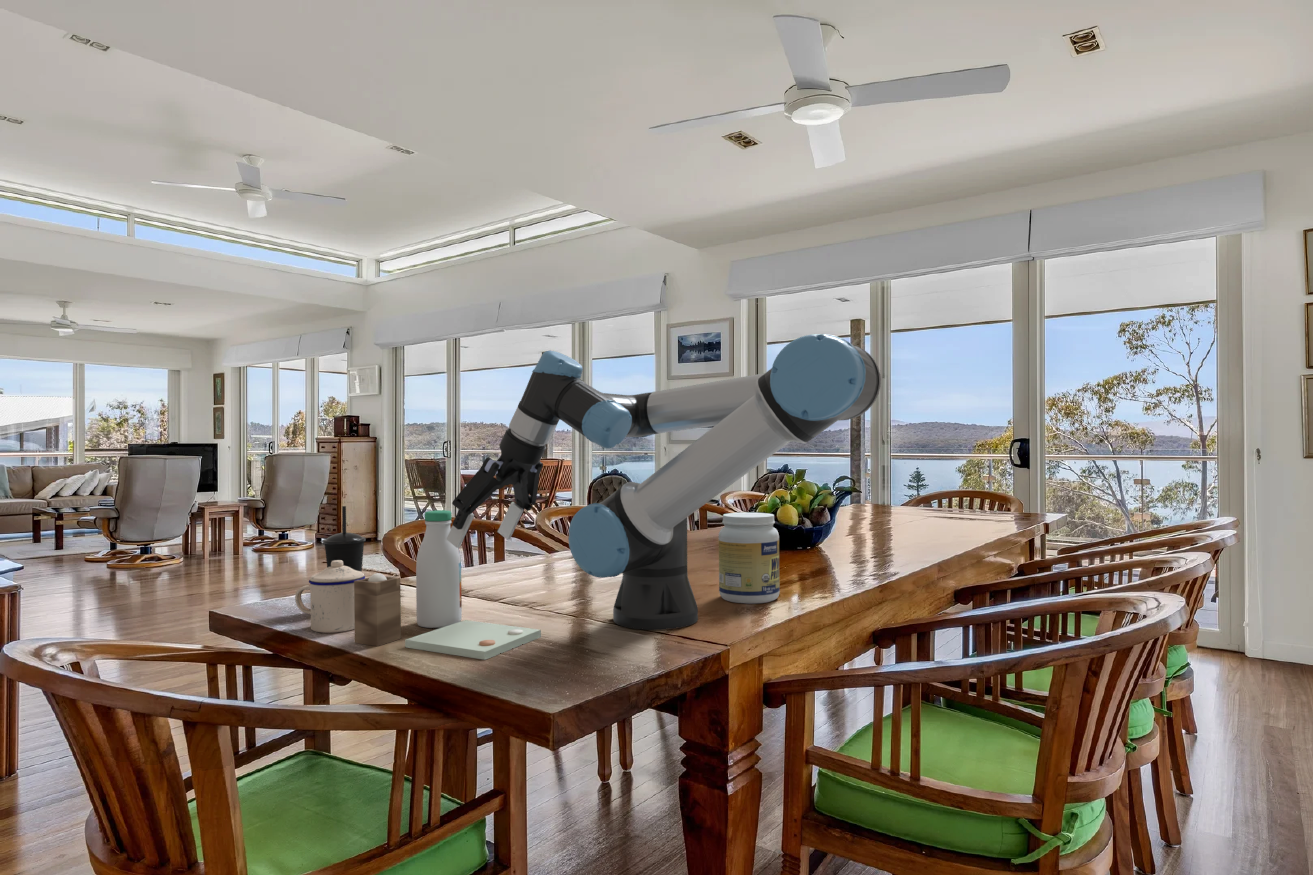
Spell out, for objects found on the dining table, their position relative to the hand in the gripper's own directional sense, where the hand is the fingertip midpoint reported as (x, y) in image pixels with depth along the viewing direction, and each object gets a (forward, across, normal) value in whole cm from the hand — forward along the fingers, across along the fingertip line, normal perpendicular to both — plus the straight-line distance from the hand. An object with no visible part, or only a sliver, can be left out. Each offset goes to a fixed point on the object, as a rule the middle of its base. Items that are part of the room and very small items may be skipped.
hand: (479, 539), depth 135 cm
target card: (+9, +11, +15) cm, 20 cm away
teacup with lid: (+24, +14, -11) cm, 30 cm away
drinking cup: (+28, +3, -19) cm, 34 cm away
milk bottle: (+16, +4, +3) cm, 17 cm away
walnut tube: (+16, +17, +2) cm, 24 cm away
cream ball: (+9, +17, -2) cm, 20 cm away
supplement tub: (-6, -38, +39) cm, 55 cm away
